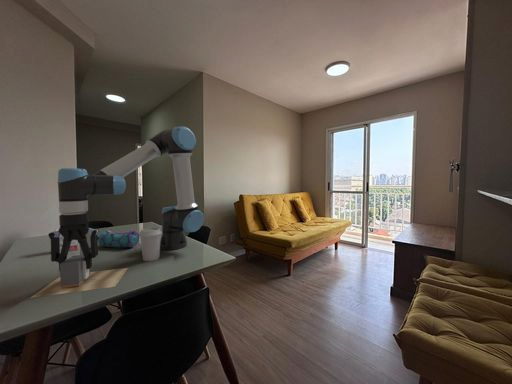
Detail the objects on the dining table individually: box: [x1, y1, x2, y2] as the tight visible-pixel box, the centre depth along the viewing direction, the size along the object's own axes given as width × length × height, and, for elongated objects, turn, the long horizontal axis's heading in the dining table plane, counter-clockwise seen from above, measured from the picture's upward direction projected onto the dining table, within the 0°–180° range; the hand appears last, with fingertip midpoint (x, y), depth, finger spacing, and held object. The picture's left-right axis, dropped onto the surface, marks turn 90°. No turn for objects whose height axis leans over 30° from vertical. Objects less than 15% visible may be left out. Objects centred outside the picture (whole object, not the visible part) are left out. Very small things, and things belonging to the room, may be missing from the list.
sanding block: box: [59, 254, 91, 288], centre depth 71 cm, size 8×5×8 cm, turn 18°
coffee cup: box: [138, 227, 162, 262], centre depth 94 cm, size 10×10×15 cm
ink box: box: [55, 229, 78, 252], centre depth 109 cm, size 8×5×12 cm, turn 133°
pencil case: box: [97, 229, 140, 249], centre depth 116 cm, size 21×9×10 cm, turn 83°
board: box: [30, 267, 129, 299], centre depth 73 cm, size 22×16×2 cm
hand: (76, 278), depth 72 cm, fingers closed on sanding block, 5 cm apart
